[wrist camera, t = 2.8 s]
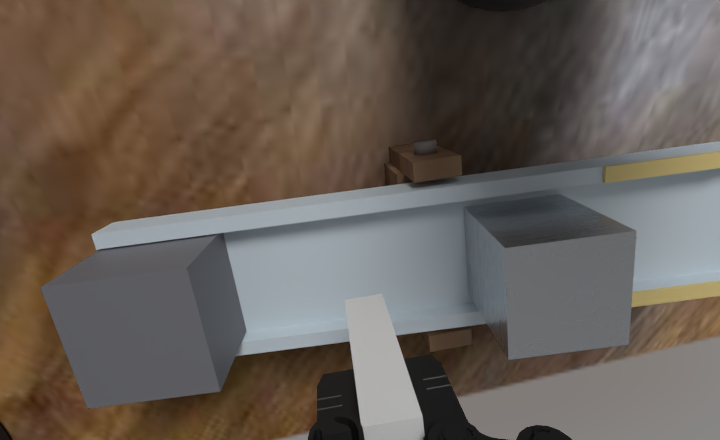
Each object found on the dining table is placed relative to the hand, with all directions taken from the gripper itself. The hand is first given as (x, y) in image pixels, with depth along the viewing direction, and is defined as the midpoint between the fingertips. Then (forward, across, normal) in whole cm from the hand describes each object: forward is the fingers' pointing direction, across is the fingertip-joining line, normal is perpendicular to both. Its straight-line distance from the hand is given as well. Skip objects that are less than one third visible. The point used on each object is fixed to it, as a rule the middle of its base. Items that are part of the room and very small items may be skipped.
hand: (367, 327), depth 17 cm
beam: (+7, +5, 0) cm, 9 cm away
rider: (+6, +8, 0) cm, 10 cm away
